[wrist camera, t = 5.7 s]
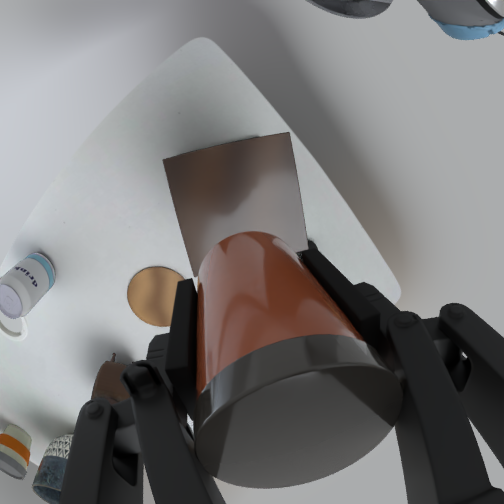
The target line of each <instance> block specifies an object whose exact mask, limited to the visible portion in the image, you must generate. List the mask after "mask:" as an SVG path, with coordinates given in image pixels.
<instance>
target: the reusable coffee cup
mask: <svg viewBox="0 0 504 504" xmlns="http://www.w3.org/2000/svg"><path fill="white" fill-rule="evenodd" d="M31 441H32V440H31V437H30V436H29V435H28V434H27V433H26V432H25V431H24V430H22V429H21V428H19V427H17V426H15V425H12V424H9V425H8V426H7V428H6V429H5V431H4V432H3V434H0V470H1V471H3V472H4V473H6V474H8V475H9V476H11V477H14V478H16V479H19V480H23V479H24V477H25V475H26V473H27V471H26V468H27V466H28V464H29V458H30V446H31Z"/></svg>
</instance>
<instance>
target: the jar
mask: <svg viewBox="0 0 504 504" xmlns="http://www.w3.org/2000/svg"><path fill="white" fill-rule="evenodd" d="M403 398H404V390H403V386H402V383H401V381H400V380H399V378H398V377H397V375H396V374H395V373H394V371H393V370H392V369H391V368H390V366H389V365H388V364H387V362H386V361H385V360H384V358H383V357H382V356H381V355H380V353H379V352H378V351H377V350H376V349H375V348H374V347H372V346H370V345H369V344H367V342H366V341H365V340H364V338H363V337H362V336H361V335H360V333H359V332H358V331H357V329H356V328H355V327H354V326H353V324H352V323H351V322H350V320H349V319H348V318H347V317H346V315H345V314H344V313H343V311H342V310H341V309H340V308H339V306H338V305H337V304H336V303H335V301H334V300H333V299H332V297H331V296H330V295H329V294H328V292H327V291H326V290H325V289H324V287H323V286H322V285H321V284H320V282H319V281H318V280H317V279H316V277H315V276H314V275H313V274H312V273H311V271H310V270H309V269H308V268H307V266H306V265H305V264H304V263H303V261H302V260H301V259H300V258H299V257H298V255H297V254H296V253H295V252H294V250H293V249H292V248H291V247H290V246H289V245H288V244H287V243H286V242H285V241H283V240H282V239H280V238H278V237H276V236H274V235H272V234H269V233H265V232H258V231H247V232H241V233H237V234H234V235H231V236H229V237H227V238H225V239H223V240H222V241H220V242H219V243H217V244H216V245H215V246H214V247H213V248H212V249H211V250H210V251H209V252H208V254H207V255H206V256H205V258H204V260H203V262H202V264H201V266H200V269H199V273H198V285H197V322H196V404H195V408H194V412H193V431H194V452H195V456H196V458H197V459H198V461H199V462H200V463H201V465H202V466H203V467H204V469H205V470H206V471H207V472H208V473H209V474H210V475H212V476H213V477H215V478H217V479H219V480H221V481H224V482H226V483H229V484H233V485H236V486H242V487H248V488H263V489H267V488H268V489H269V488H282V487H290V486H295V485H300V484H304V483H308V482H311V481H315V480H318V479H321V478H324V477H326V476H329V475H331V474H334V473H336V472H338V471H340V470H342V469H344V468H346V467H348V466H349V465H351V464H353V463H355V462H356V461H358V460H359V459H361V458H362V457H364V456H365V455H366V454H368V453H369V452H370V451H372V450H373V449H374V448H375V447H376V446H377V445H378V444H379V443H380V442H381V441H382V440H383V439H384V438H385V437H386V436H387V435H388V433H389V432H390V431H391V430H392V428H393V427H394V425H395V424H396V422H397V420H398V418H399V415H400V411H401V407H402V403H403Z"/></svg>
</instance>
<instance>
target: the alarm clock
mask: <svg viewBox="0 0 504 504" xmlns="http://www.w3.org/2000/svg"><path fill="white" fill-rule="evenodd" d="M115 356H116V354H115V353H113V356H112V359H111V361H105V363H104V364H103V365H102V366H101V368H100V370H99V372H98V375H97V378H96V380H95V383H94V387H93V391H92V396H91V399H94V398H105V399H107V400H108V401H109V402H110V403H111V405H112V404H115V403H118V402H121V401H123V400H126V399H128V398H130V395H129V394H128V392H127V391H126V389H125V387H124V386H123V384H122V383H121V381H120V374H121V373H122V371H123V370H124V369H125V368H126V367H127V366H126V365H124V364H120V363H115V362H114V361H115ZM132 363H134V362H132Z"/></svg>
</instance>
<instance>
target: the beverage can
mask: <svg viewBox="0 0 504 504" xmlns="http://www.w3.org/2000/svg"><path fill="white" fill-rule="evenodd" d="M54 281H55V272H54V268H53V266H52V264H51V263H50V261H49V260H48V259H47V258H46V257H45V256H43V255H42V254H39V253H32V254H30V255H28V256H27V257H26V258H25V259H23V260H22V261H21V262H19V263H18V264H17V265H16V266H14V267H13V268H12V269H11V270H9V271H8V272H7V273H6V274H4V275H3V276H2V277H1V278H0V310H1V312H2V313H3V314H4V315H6V316H8V317H9V318H13V319H16V318H19V317H23V316H26V315H27V314H28V313H29V312H30V311H31V310H32V308H33V307H34V306H35V305H36V304H37V303H38V301H39V300H40V299H41V298H42V297H43V296H44V295H45V294H46V292H47V291H48V290H49V289H50V288H51V287H52V286H53V284H54Z"/></svg>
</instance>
